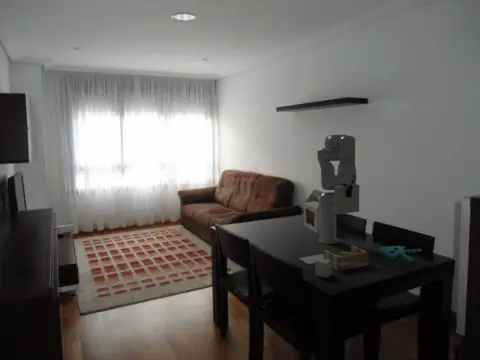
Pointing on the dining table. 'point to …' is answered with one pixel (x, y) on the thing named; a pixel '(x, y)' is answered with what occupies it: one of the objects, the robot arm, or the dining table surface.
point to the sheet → (346, 200)
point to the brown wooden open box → (348, 259)
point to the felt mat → (311, 258)
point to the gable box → (313, 211)
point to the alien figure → (397, 252)
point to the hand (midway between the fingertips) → (346, 196)
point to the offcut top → (345, 253)
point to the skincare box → (323, 267)
